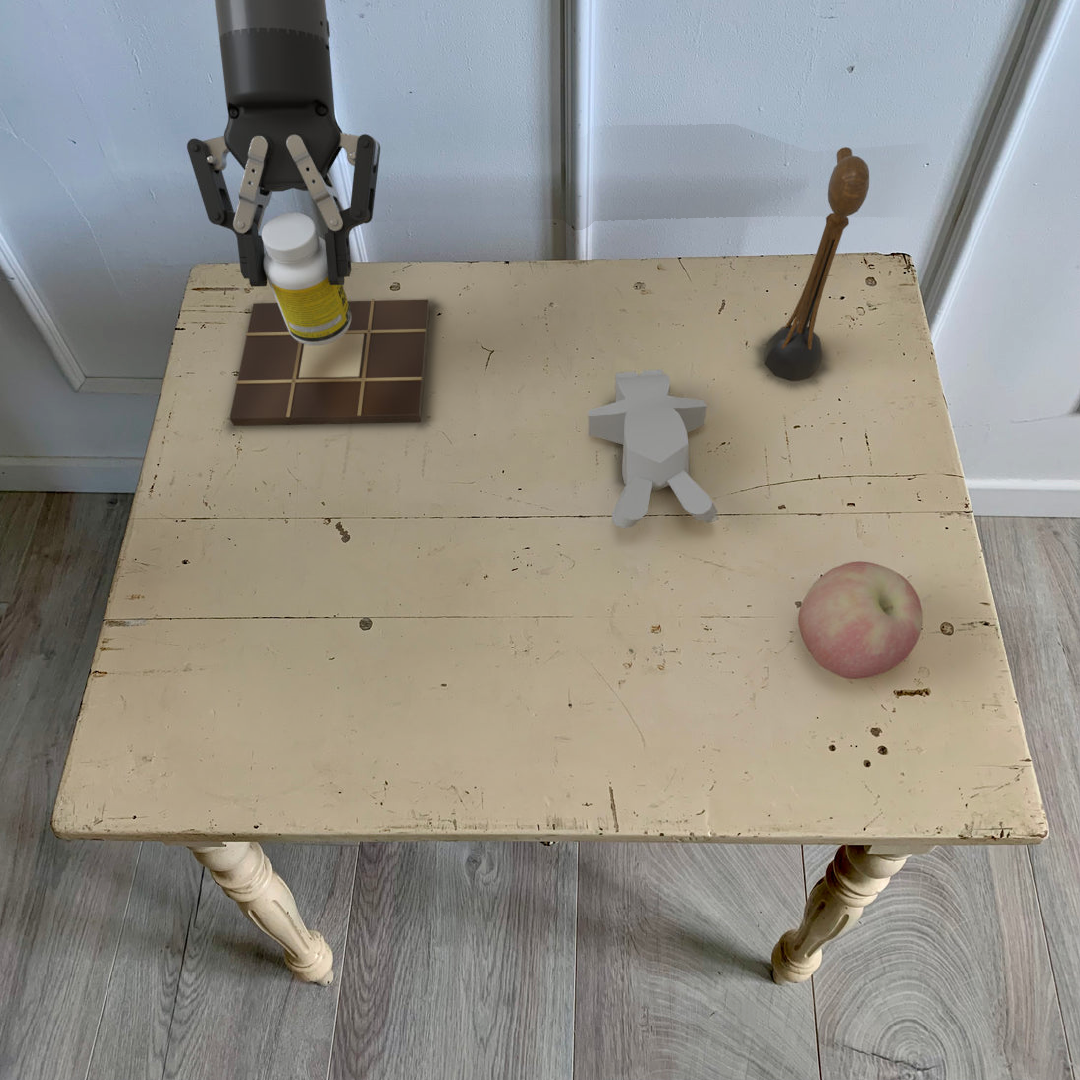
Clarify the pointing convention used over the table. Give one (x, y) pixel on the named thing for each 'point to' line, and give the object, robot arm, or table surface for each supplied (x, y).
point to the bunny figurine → (651, 444)
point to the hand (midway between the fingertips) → (298, 284)
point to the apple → (860, 620)
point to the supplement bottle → (303, 280)
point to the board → (335, 368)
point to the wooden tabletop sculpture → (818, 275)
